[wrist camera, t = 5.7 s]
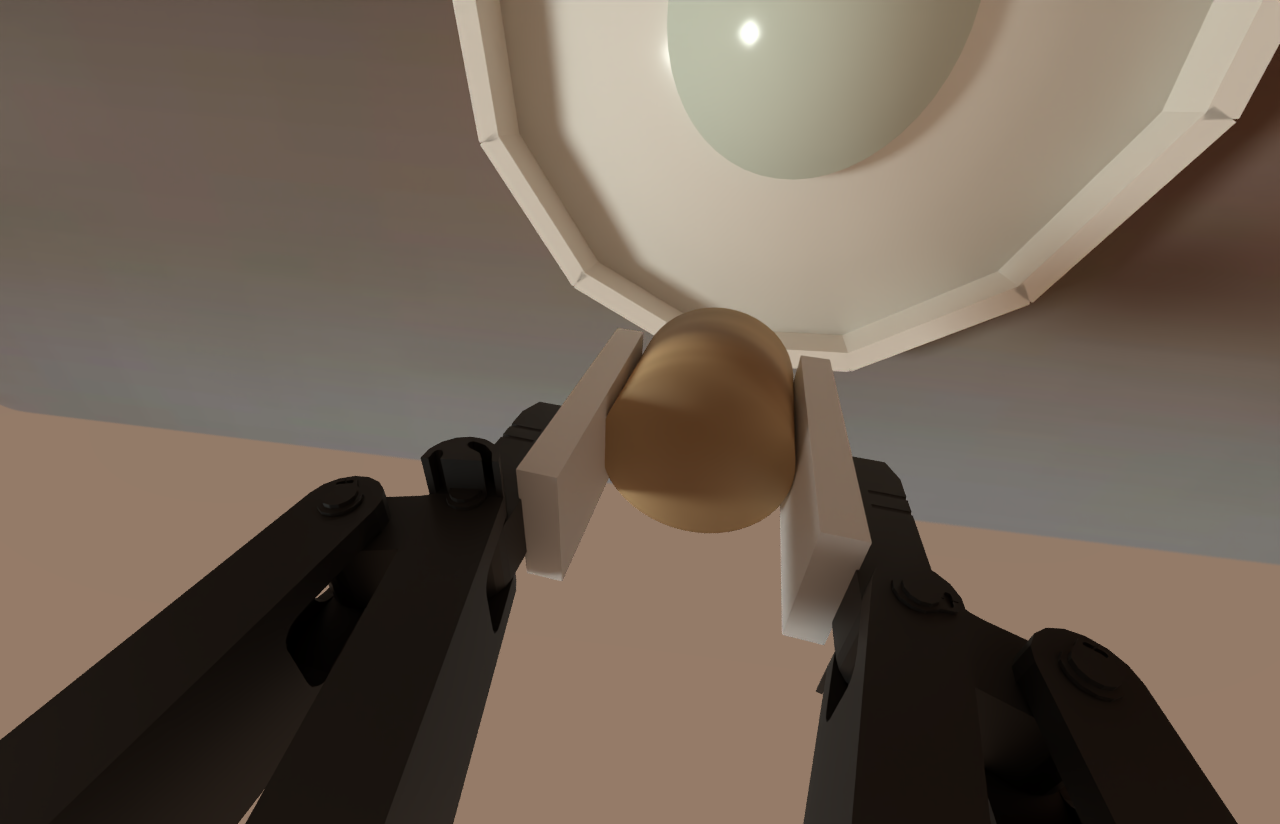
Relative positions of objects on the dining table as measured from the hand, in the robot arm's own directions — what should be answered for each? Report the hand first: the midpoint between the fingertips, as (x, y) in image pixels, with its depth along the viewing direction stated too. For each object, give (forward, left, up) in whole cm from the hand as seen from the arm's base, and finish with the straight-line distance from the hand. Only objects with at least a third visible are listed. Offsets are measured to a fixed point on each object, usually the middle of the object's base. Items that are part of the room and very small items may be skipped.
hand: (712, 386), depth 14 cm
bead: (0, 0, 0) cm, 0 cm away
